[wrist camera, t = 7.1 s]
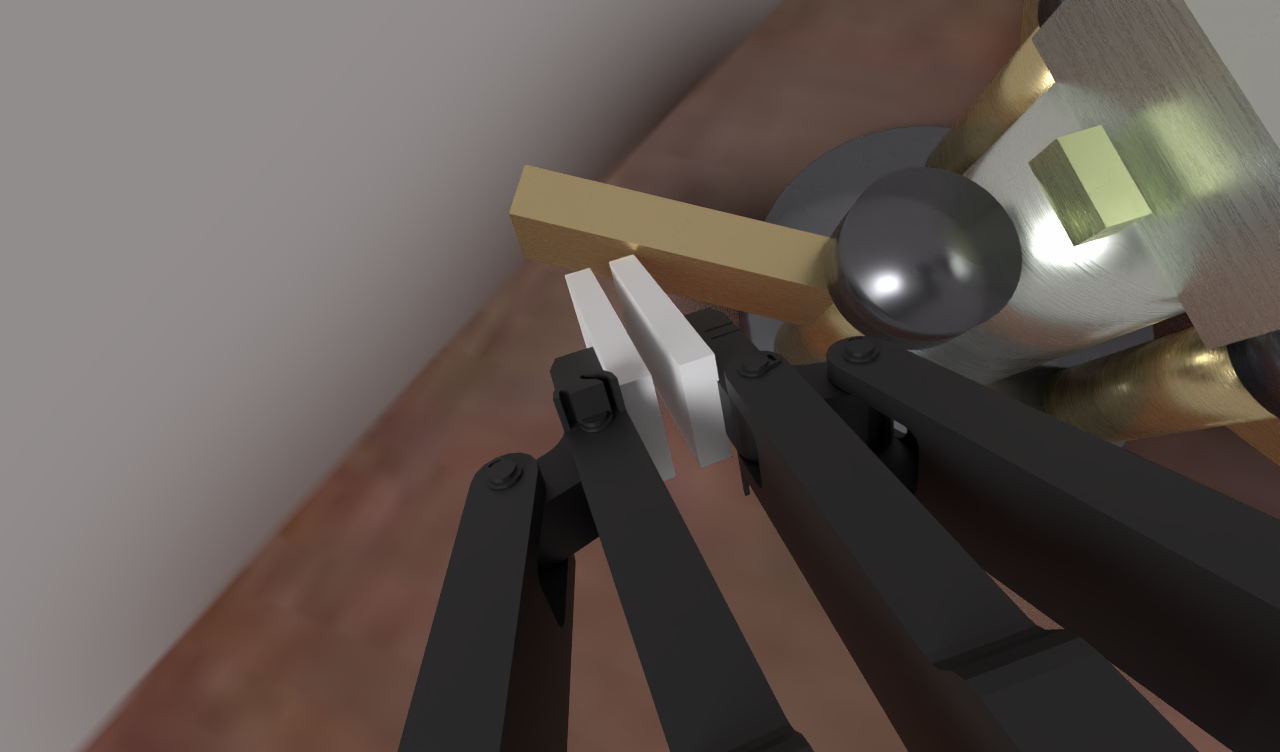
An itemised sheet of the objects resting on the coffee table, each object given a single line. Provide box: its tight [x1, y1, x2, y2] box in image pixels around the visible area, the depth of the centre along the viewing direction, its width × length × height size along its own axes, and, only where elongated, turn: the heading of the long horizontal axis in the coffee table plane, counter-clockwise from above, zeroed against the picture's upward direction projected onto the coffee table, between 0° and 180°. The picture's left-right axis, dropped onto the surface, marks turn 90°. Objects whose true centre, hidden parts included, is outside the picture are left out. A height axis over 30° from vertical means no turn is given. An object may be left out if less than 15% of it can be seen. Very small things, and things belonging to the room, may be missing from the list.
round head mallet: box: [509, 165, 1022, 365], centre depth 19 cm, size 13×4×9 cm, turn 76°
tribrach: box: [739, 0, 1280, 467], centre depth 19 cm, size 17×22×15 cm
